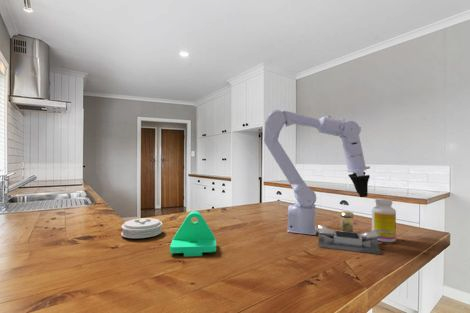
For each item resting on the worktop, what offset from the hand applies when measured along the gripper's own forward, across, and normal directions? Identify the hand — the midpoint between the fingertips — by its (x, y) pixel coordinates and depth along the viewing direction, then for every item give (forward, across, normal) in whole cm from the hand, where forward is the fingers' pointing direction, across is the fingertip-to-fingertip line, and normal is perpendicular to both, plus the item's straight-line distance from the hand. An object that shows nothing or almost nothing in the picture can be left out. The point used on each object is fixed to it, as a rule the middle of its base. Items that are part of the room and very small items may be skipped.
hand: (362, 194), depth 87 cm
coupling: (+12, -1, +7) cm, 14 cm away
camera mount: (+3, -35, +47) cm, 59 cm away
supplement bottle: (+14, -5, -3) cm, 15 cm away
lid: (-1, -28, +70) cm, 75 cm away
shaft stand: (+12, -14, +8) cm, 20 cm away
